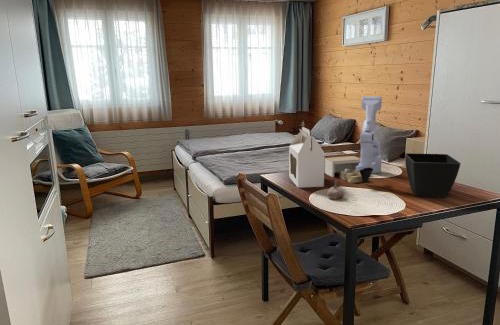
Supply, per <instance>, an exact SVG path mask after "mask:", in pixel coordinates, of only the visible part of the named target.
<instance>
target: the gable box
mask: <svg viewBox="0 0 500 325" xmlns="http://www.w3.org/2000/svg"><path fill="white" fill-rule="evenodd" d="M288 148H289V149H288V150H289V153H288V157H289V160H288V161H289V162H288V168H289V169H288V174H289V176H288V178H290V179H291V181H292V182H293V183H294V184H295V186H296V187H297V188H300V189H302V188H321V187H325V173H324V165H325V151H324V150H323V149H322V147H321V145H320V144H319V143H318V141H317V139H316V138H315V136H312V130H311V129H309V128H306V127H305V126H302V127H301V128H299V132H298V133H297V135H296V136H295V138H294V139H293V141H292V142H291V144H290V145H289V146H288Z"/></svg>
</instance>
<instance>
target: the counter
mask: <svg viewBox="0 0 500 325" xmlns="http://www.w3.org/2000/svg"><path fill="white" fill-rule="evenodd" d="M359 163H360V157H357V156H355V155H350V156H349V155H348V156H334V157H324V174H326V175H327V176H330V177H331V178H335V173H340V172H341V171H345V169H350V171H353V170H355V168H356V166H358V164H359Z"/></svg>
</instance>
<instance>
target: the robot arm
mask: <svg viewBox="0 0 500 325" xmlns="http://www.w3.org/2000/svg"><path fill="white" fill-rule="evenodd" d="M382 99H383V98H382V96H380V95H378V96H377V95H375V96H374V95H373V96H370V95H369V96H368V95H367V96H366V95H363V96H362V98H361V108H362V110H364V111H365V120H363V122H362V130H361V132H360V135H359V143H360V157H359V158H360V163H359V164H358V166H356V168H355V170H356V171H359V172H360V174H361V176H362V181H363V182H362V183H365V184H367V183H369V181H370V177H371V175H372V174H379V173H382V161H383V160H382V158H381V156H380V154H381V152H380V151H381V145H380V144H381V143H380V141H378V140H377V139H376V124H377V123H376V122H377V112H378V111H381V110H382V103H383V102H382V101H383V100H382ZM368 180H369V181H368Z"/></svg>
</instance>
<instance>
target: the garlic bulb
mask: <svg viewBox="0 0 500 325" xmlns="http://www.w3.org/2000/svg"><path fill="white" fill-rule="evenodd" d="M337 185H338V180H335V182H334V186H331V187H330V188H328V191H327V192H326V197H327V198H329V199H331V200H337V199H340V198H343V196H344V194H345V192H344V190H343V189H341V188H339V187H338V186H337Z"/></svg>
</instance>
